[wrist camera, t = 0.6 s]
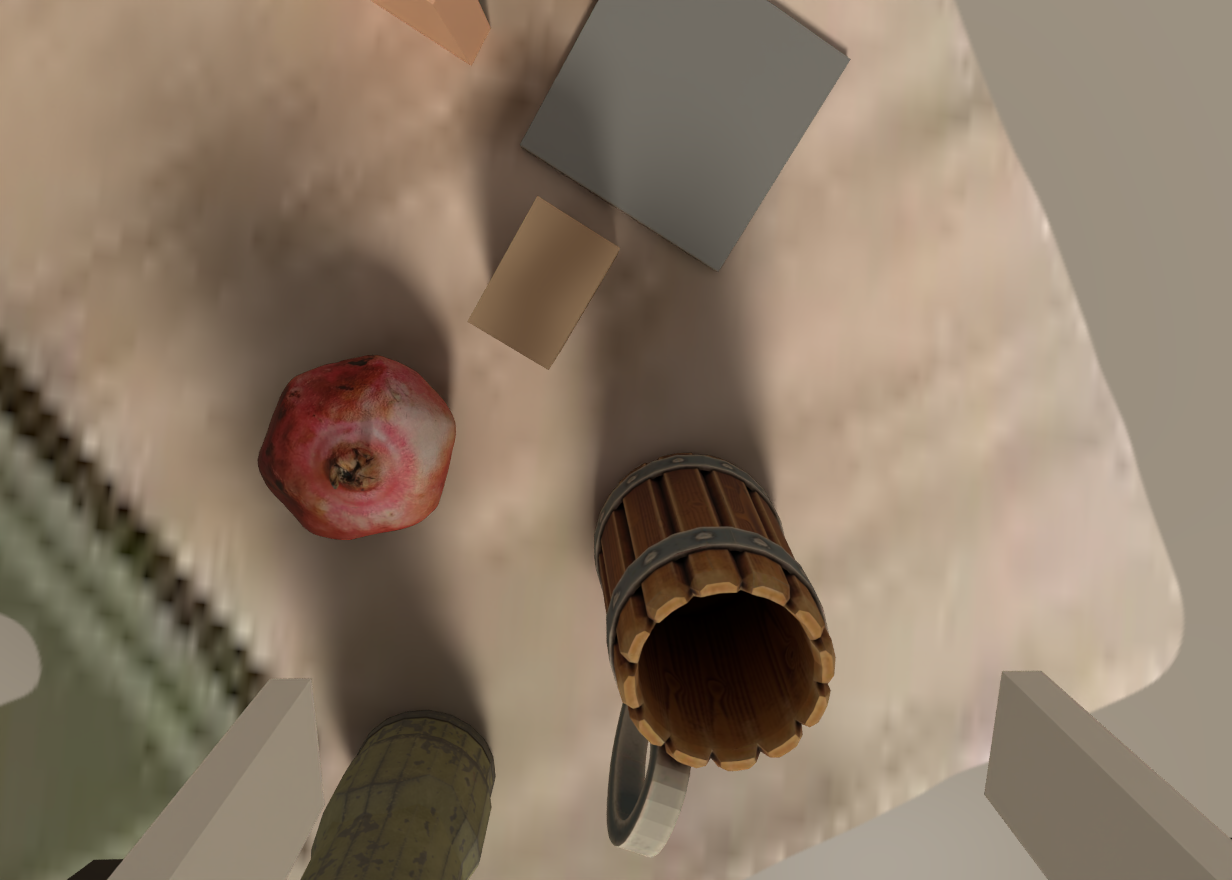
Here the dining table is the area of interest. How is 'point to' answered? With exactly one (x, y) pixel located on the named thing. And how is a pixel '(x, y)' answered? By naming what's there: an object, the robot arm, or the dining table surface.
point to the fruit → (358, 448)
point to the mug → (701, 636)
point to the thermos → (408, 804)
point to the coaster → (684, 112)
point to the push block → (543, 283)
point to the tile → (444, 23)
